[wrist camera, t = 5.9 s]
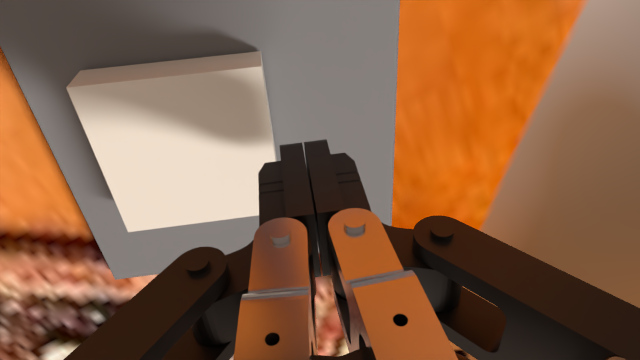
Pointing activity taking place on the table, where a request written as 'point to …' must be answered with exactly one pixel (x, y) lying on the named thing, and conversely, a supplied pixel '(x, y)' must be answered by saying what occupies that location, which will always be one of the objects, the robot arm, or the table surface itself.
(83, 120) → the tile
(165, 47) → the mat
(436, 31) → the table surface
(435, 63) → the table surface
